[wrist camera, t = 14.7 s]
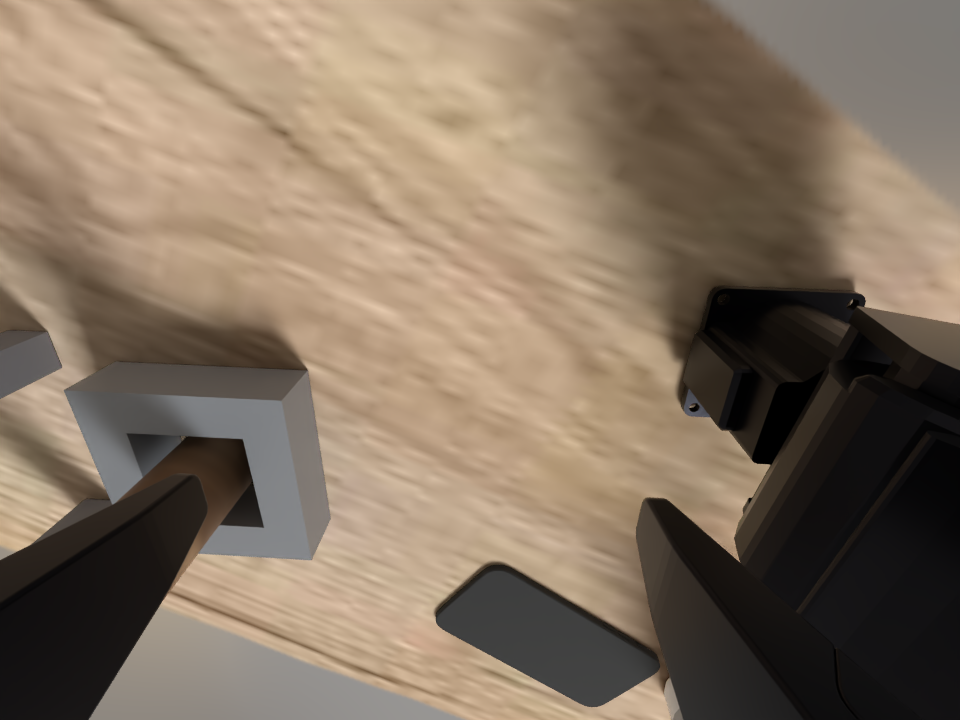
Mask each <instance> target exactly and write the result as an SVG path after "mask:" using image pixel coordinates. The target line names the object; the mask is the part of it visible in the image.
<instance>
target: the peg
mask: <svg viewBox="0 0 960 720" xmlns="http://www.w3.org/2000/svg"><path fill="white" fill-rule="evenodd" d="M178 473H183V474H195V475H197V476H198V477H199V478H200V480H201V483H202V486H203V490H204V493H205V496H206V500H207V503H208V513H207V516H206V518H205V520H204V522H203V524H202V526H201V528H200V530H199V532H198V534H197V536H196V538H195V540H194V542H193V544H192V546H191V548H190V550H189V552H188V554H187V556H186V558H185V560H184V562H183V564H182V566H181V568H180V570H179V572H178V574H177V576H176V578H175V580H174V582H173V584H172V586H171V587H170V589H169V591H168V593H169V592H170V590H171V589H172V588H173V586H174V585H175V584H176V582H177V581H178V580H179V578H180V577H181V576H182V574H183V573H184V572H185V570H186V569H187V568H188V566H189V565H190V564H191V562H192V561H193V560H194V558H195V557H196V556H197V554H198V553H199V552H200V550H201V549H202V548H203V546H204V545H205V544H206V542H207V541H208V540H209V538H210V537H211V536H212V534H213V533H214V532H215V530H216V529H217V528H218V526H219V525H220V524H221V522H222V521H223V520H224V518H225V517H226V516H227V514H228V513H229V512H230V510H231V509H232V508H233V506H234V505H235V504H236V502H237V501H238V500H239V498H240V497H241V496H242V494H243V493H244V492H245V490H246V489H247V488H248V486H249V485H250V484H251V482H252V481H253V479H252V475H251V471H250V467H249V462H248V458H247V454H246V450H245V446H244V442H243V439H232V438H212V437H192V436H187V437H186V438H185V439H184V440H183V441H182V442H181V443H180V444H179V445H178V446H177V447H175V448H174V449H173V450H172V451H171V452H170V453H169V454H168V455H167V456H166V457H165V458H164V459H162V460H161V461H160V462H159V463H158V464H157V465H156V466H155V467H154V468H153V469H152V470H150V471H149V472H148V473H147V474H146V475H145V476H144V477H143V478H142V479H141V480H140V481H138V482H137V483H136V484H135V485H134V486H133V487H132V488H131V489H130V490H129V491H128V492H127V493H125V494H124V495H123V496H122V497H121V498H120V499H119V500H118V501H120V500H122V499H125V498H127V497H129V496H131V495H133V494H135V493H137V492H139V491H141V490H143V489H145V488H147V487H149V486H151V485H153V484H155V483H157V482H159V481H161V480H163V479H165V478H167V477H169V476H171V475H173V474H178ZM118 501H117V502H118ZM168 593H167V594H168ZM167 594H166V596H167ZM166 596H165V597H166ZM163 600H164V599H163Z"/></svg>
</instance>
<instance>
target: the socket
mask: <svg viewBox="0 0 960 720" xmlns="http://www.w3.org/2000/svg"><path fill="white" fill-rule="evenodd" d="M64 392H65V394H66V397H67V399H68V401H69V404H70V406H71V408H72V411H73V413H74V415H75V418H76V420H77V423H78V425H79V427H80V430H81V432H82V434H83V437H84V439H85V441H86V444H87V446H88V448H89V451H90V453H91V456H92V458H93V460H94V463H95V465H96V467H97V470H98V472H99V474H100V477H101V479H102V482H103V484H104V486H105V489H106V491H107V493H108V496H109V498H110V500H111V503H112V504H114V503H116V502H117V501H118V500H119V499H120V498H121V497H122V496H123V495H124V494H125V493H127V492H128V491H129V490H130V489H131V488H132V487H133V486H134V485H135V484H136V483H137V482H138V481H140V480H141V479H142V478H143V477H144V476H145V475H146V474H147V473H148V472H149V471H150V470H152V469H153V468H154V467H155V466H156V465H157V464H158V463H159V462H160V461H161V460H162V459H164V458H165V457H166V456H167V455H168V454H169V453H170V452H171V451H172V450H173V449H174V448H175V447H177V446H178V445H179V444H180V443H181V442H182V441H181V438H180V436H192V437H212V438H232V439H243V442H244V446H245V450H246V454H247V458H248V462H249V467H250V471H251V475H252V479H253V483H254V486H248V488H247V489H246V490H245V492H244V493H243V494H242V496H241V497H240V498H239V500H238V501H237V502H236V504H235V505H234V506H233V508H232V509H231V510H230V512H229V513H228V514H227V516H226V517H225V518H224V520H223V521H222V522H221V524H220V525H219V526H218V528H217V529H216V530H215V532H214V533H213V534H212V536H211V537H210V538H209V540H208V541H207V542H206V544H205V545H204V546H203V548H202V549H201V550H200V552H199V553H198V554H215V555H232V556H249V557H265V558H282V559H299V560H312V558H313V556H314V554H315V552H316V549H317V547H318V545H319V543H320V541H321V539H322V536H323V534H324V532H325V530H326V528H327V526H328V523H329V521H330V519H331V518H330V511H329V505H328V498H327V492H326V485H325V479H324V472H323V466H322V459H321V453H320V446H319V440H318V433H317V427H316V420H315V414H314V407H313V401H312V394H311V388H310V381H309V375H308V370H287V369H265V368H243V367H222V366H200V365H178V364H157V363H135V362H114V363H112V364H110V365H108V366H106V367H105V368H103V369H101V370H99V371H97V372H96V373H94V374H92V375H90V376H89V377H87V378H85V379H83V380H81V381H80V382H78V383H76V384H74V385H72V386H71V387H69V388H67V389H65V390H64Z"/></svg>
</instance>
